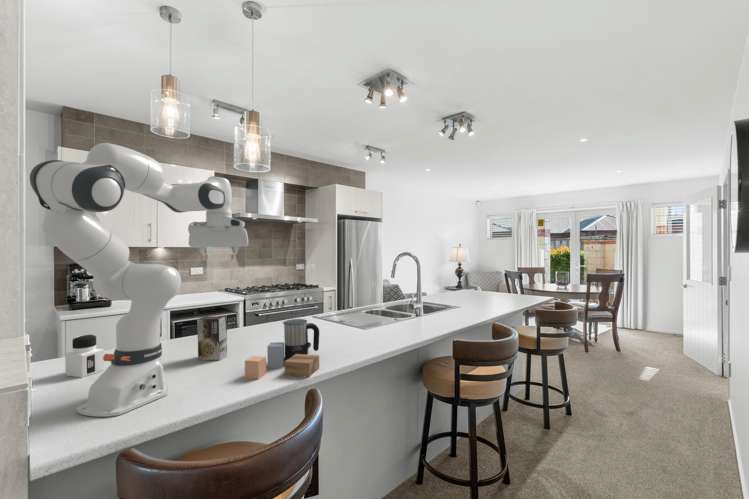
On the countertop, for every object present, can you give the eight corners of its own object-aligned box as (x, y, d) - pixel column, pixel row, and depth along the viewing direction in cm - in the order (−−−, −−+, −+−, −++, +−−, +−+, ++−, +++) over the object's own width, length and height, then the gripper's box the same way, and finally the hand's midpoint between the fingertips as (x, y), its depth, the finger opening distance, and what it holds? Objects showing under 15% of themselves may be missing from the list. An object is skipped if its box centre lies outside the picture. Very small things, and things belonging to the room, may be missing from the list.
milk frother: (289, 364, 137) (288, 324, 137) (273, 354, 150) (273, 317, 150) (323, 357, 146) (323, 320, 145) (305, 348, 158) (305, 313, 158)
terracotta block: (258, 379, 122) (258, 361, 122) (245, 378, 123) (244, 360, 123) (266, 374, 127) (265, 356, 127) (252, 373, 128) (252, 356, 128)
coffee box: (227, 355, 148) (227, 315, 148) (219, 360, 142) (219, 318, 141) (206, 354, 149) (205, 315, 149) (197, 360, 143) (196, 318, 142)
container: (104, 370, 131) (103, 334, 131) (81, 378, 124) (81, 339, 123) (88, 368, 133) (87, 332, 133) (65, 375, 126) (64, 338, 126)
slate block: (281, 368, 133) (281, 346, 133) (267, 368, 133) (267, 346, 133) (284, 363, 138) (284, 342, 138) (270, 363, 138) (270, 342, 138)
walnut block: (309, 378, 124) (309, 363, 124) (284, 376, 126) (284, 361, 126) (319, 369, 133) (319, 355, 133) (296, 367, 135) (296, 353, 135)
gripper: (186, 221, 130) (186, 260, 130) (247, 221, 135) (247, 259, 135) (190, 222, 136) (190, 259, 136) (248, 223, 141) (248, 259, 141)
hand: (219, 259), depth 135 cm, fingers open, 8 cm apart
